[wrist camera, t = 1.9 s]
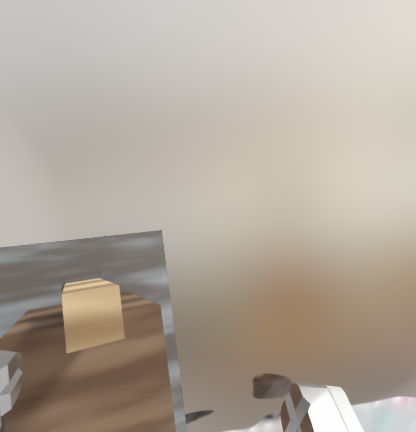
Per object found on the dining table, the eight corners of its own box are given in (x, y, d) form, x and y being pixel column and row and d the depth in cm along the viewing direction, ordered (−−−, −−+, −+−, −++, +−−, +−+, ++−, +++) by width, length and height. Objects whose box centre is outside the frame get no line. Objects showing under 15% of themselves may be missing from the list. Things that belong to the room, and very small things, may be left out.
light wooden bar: (130, 337, 17) (123, 274, 17) (60, 355, 15) (54, 285, 16) (102, 305, 31) (99, 270, 32) (65, 312, 30) (61, 276, 30)
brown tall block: (262, 588, 26) (208, 211, 30) (-104, 868, 16) (-120, 239, 19) (186, 462, 43) (158, 231, 47) (-14, 557, 33) (-32, 252, 37)
